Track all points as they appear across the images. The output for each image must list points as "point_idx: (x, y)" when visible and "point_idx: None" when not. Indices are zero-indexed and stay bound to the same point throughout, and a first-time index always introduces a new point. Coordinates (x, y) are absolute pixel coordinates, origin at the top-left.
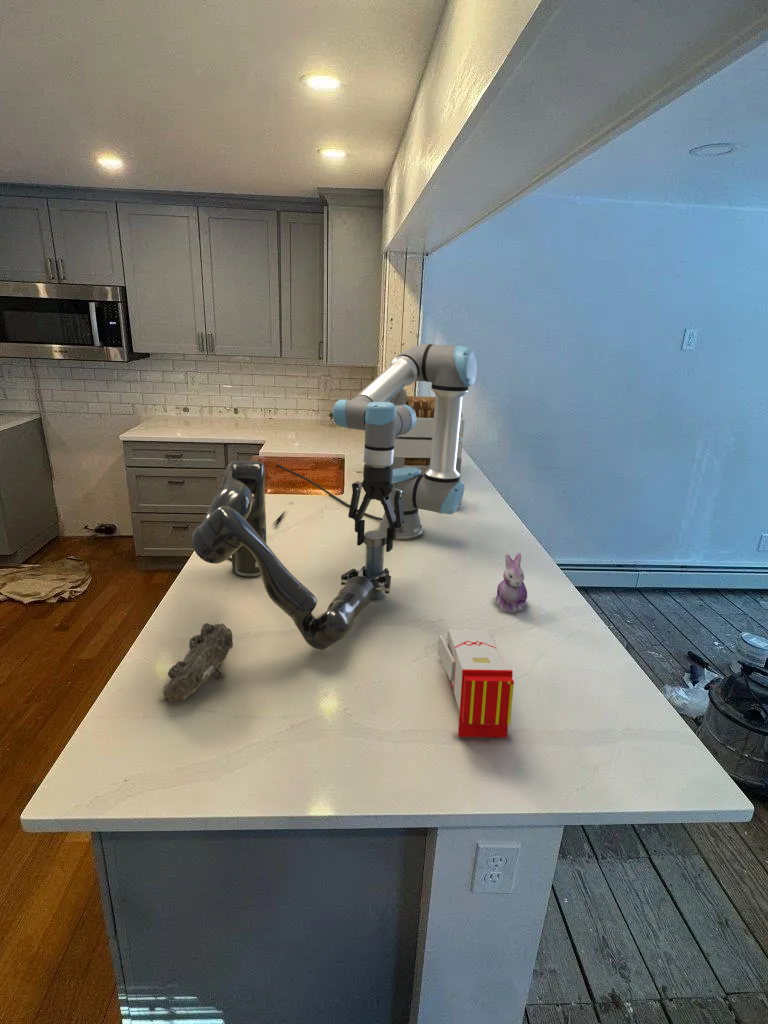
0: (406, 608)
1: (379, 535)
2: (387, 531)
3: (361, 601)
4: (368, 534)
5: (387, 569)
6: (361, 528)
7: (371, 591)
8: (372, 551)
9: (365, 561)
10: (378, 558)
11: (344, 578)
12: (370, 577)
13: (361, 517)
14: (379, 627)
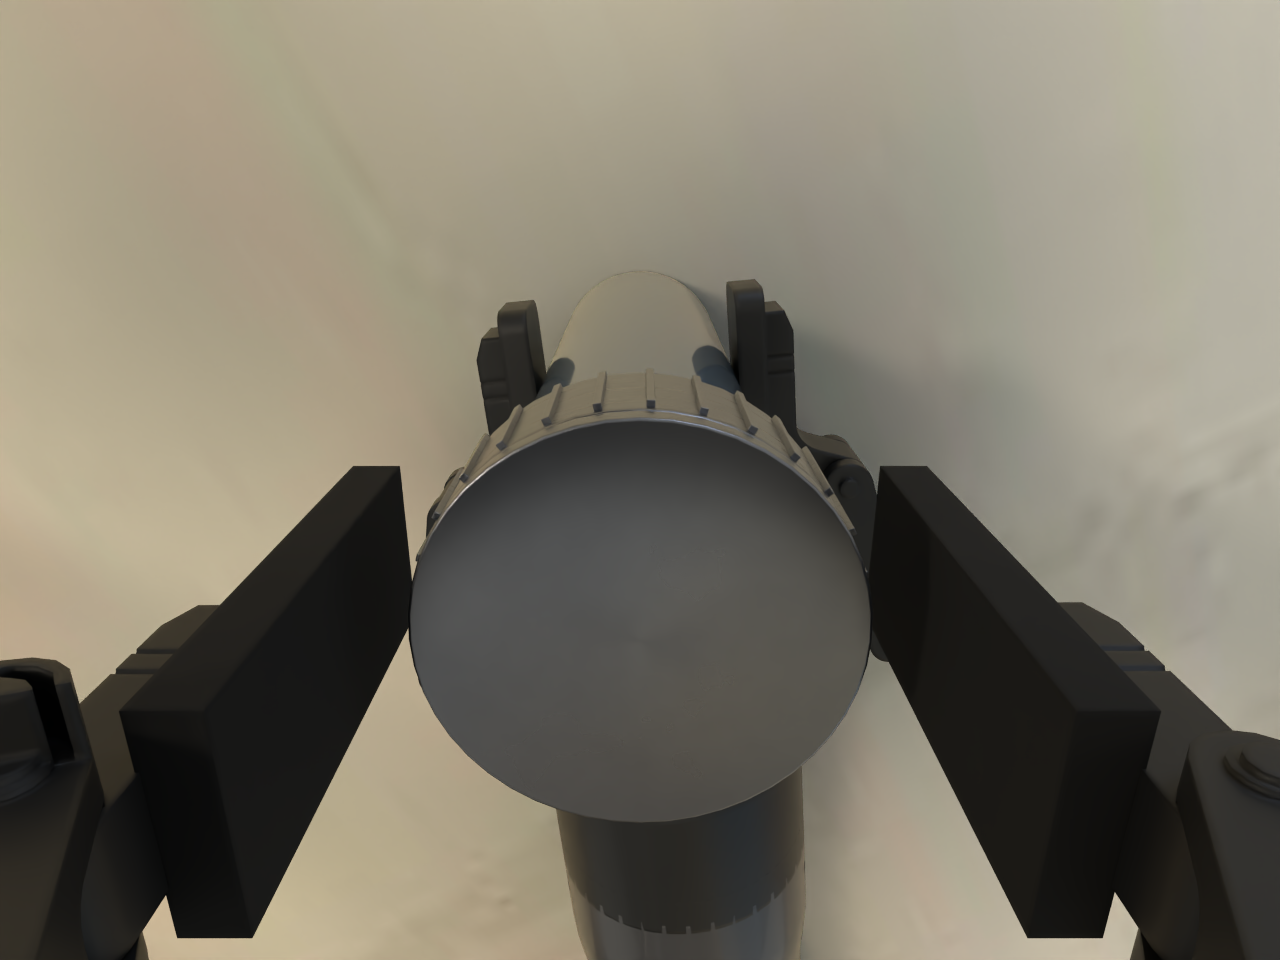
0: (963, 415)
1: (724, 630)
2: (1009, 872)
3: (797, 956)
4: (506, 688)
5: (763, 308)
6: (307, 749)
7: (801, 794)
8: None
9: None
10: None
11: None
12: None
13: (82, 828)
14: (860, 712)
